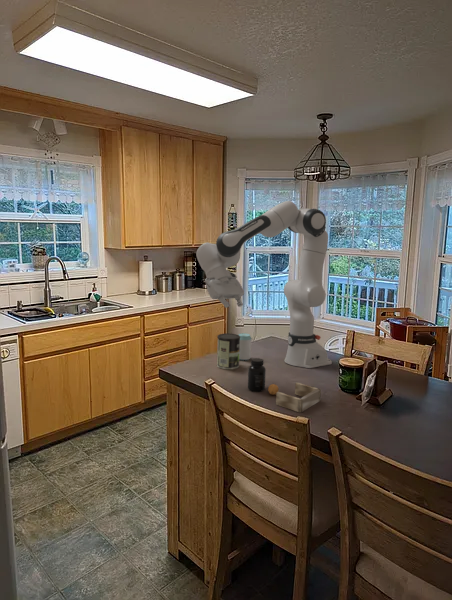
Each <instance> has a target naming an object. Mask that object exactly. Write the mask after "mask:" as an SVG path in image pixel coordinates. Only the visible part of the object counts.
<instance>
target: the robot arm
mask: <svg viewBox="0 0 452 600" xmlns="http://www.w3.org/2000/svg"><path fill="white" fill-rule="evenodd" d="M326 219H327V218H326V215H325V212H323V211H322V210H320V209H317V208H301V209H298V206H297V205H296V204H295V203H294V202H293V201H291V200H286V201H283V202H280V203H278V204H276V205H274V206H273V207H271V208H269V209H268V210H267V211H265V212H264V213H262V214H261V215H258V216H256V217H254V218H253V219H251V220H249V221H248V222H246V223H244V224H242V225H240V226H239V227H237V228H235V229H232V230H227V231H224V232H222V233H221V234H219V235H218V237H217V239H216V243H211V242H208V241H207V242H204V243H201V245H199V247H198V249H196V253H195V254H196V259H197V261H198V263H199V266H200V267H201V269H202V271H204V274H205V277H206V278H205V280H204V282H205V286H206V290H207V292H208V294H209V297H210V298H211V299H212V300H218V301H219V303H221V304H222V305H223V307H224V308H225V309H226V308H227V309H228V308H229V307H230V306H231V304H230V302H229V301H227V299H229V300H230V299H232V300H233V299H234V300H235V301H236V305H237V307H239V308H241V307H243V305H244V304H243V302H242V297H243V296H244V295H245V290H244V289H243V287H242V284H241V283H240V282H239V280H238V276H237V275H236V274H235V273H234V272H231V271H230V270H228V269H227V268H231V267H234V266H236V265H237V264H238V263H239V261H240V259H241V249H242V247H243V245H244V244H245V243H246V242H247V241H249V240H251V239H252V238H254V237H255V236H258V235H260V234H261V235H262V236H263V237H266V238H270V239H271V238H273V237H276V236H278V235H280V233H283V232H284V231H285V230H287V229H288V230H289V231H291V232H292V233H295V234H301V235H303V244H302V248H301V252H300V256H299V260H298V267H297V268H298V269H299V272H300V279H292V280H288V281H287V282H286V283H285V284H284V287H283V293H284V296H285V298H286V299H287V303H288V305H287V307H288V311H289V332H288V337H287V344H288V346H287V351H286V355H285V358H284V360H283V361H284V362H285V363H286V364H288V365H290V366H293V367H301V368H306V369H314V368H317V367H324V366H328V365H329V366H330V365H332V363H333V362H332V361H333V360H331V359H330V358H328V353H327V350H326V348H325V347H323V345H321V344H320V343H318V341H319V340H321V338H322V337H321V335H318V334H315V333H314V327H315V326H314V325H315V317H314V314H313V312H312V309H311V308H317V307H321V305H323V304H324V302H325V300H326V290H325V289H324V286H323V268H324V263H325V259H326V255H327V251H328V244H329V235H328V232H327V231H326V229H327V227H326V225H327V220H326ZM317 340H318V341H317Z"/></svg>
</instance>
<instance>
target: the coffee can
mask: <svg viewBox="0 0 452 600" xmlns="http://www.w3.org/2000/svg"><path fill="white" fill-rule="evenodd" d="M239 350H240V336H239V335H238V334H237V333H228V332H227V333H220V334H217V352H216V353H217V356H216V357H217V360H216V362H217V363H216V364H217V365H216V366H217V367H218V368H219V369H222V370H236V369H238V368H239V367H240V360H239Z"/></svg>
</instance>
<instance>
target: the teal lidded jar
mask: <svg viewBox="0 0 452 600" xmlns="http://www.w3.org/2000/svg"><path fill="white" fill-rule="evenodd" d="M237 335H239V336H240V350H239V361H244V360H245V361H249V360H251V359H252V357H251V356H252V336H251V334H249V333H246V332H245V333H238V334H237Z"/></svg>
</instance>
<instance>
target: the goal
mask: <svg viewBox="0 0 452 600" xmlns="http://www.w3.org/2000/svg"><path fill="white" fill-rule="evenodd" d="M321 393H322V388H318V387H314V386H310V385H307V384H304V383H301V382H295V387H294V395H297V396H299V397H301V398H299V397H296V396H293V395H290V394H286V393H284V392H280V391H278V392H277V393H276V394H275V405H276V406H280V407H283V408H285V409H289V410H291V411H294V412H296V413H297V412H298V413H303V412H305V411H306V410H308V409H309V408H311V407H312V406H314V405H316V404H317V403H320V401H321V397H322V396H321V395H322V394H321Z"/></svg>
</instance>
